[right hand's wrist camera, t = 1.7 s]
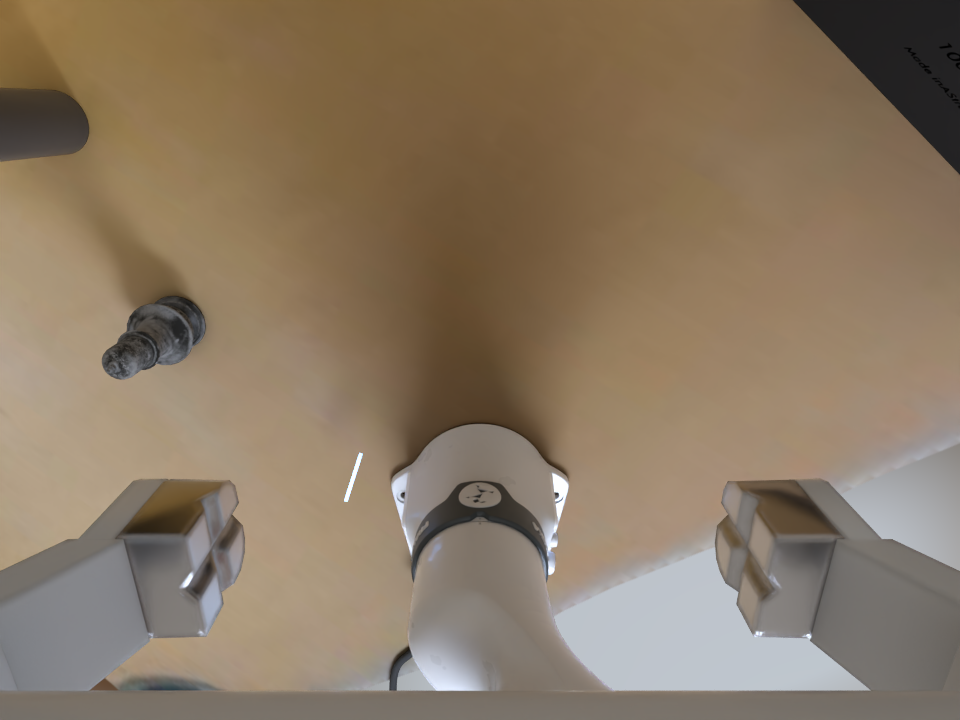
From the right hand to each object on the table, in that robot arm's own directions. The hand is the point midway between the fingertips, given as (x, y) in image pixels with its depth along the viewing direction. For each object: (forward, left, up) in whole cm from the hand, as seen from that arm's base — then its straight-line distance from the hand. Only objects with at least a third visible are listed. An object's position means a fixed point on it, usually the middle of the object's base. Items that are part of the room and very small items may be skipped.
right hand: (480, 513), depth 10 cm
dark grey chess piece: (-13, +29, -48) cm, 58 cm away
